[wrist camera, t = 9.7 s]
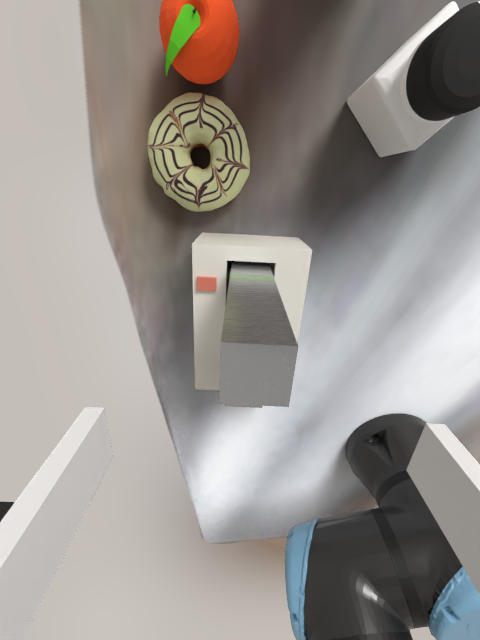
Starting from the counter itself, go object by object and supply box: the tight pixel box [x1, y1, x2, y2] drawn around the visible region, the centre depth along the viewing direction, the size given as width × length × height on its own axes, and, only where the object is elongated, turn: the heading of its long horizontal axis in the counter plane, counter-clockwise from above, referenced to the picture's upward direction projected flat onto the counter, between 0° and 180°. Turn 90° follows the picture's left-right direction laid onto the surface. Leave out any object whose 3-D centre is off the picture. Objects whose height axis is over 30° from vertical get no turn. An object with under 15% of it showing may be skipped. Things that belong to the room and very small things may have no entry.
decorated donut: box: [147, 92, 250, 212], centre depth 30 cm, size 10×11×4 cm
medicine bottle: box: [347, 1, 480, 157], centre depth 24 cm, size 7×7×12 cm
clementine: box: [159, 0, 240, 85], centre depth 25 cm, size 8×7×7 cm
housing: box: [192, 232, 312, 390], centre depth 35 cm, size 12×18×8 cm, turn 177°
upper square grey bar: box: [219, 262, 298, 407], centre depth 23 cm, size 4×4×18 cm
